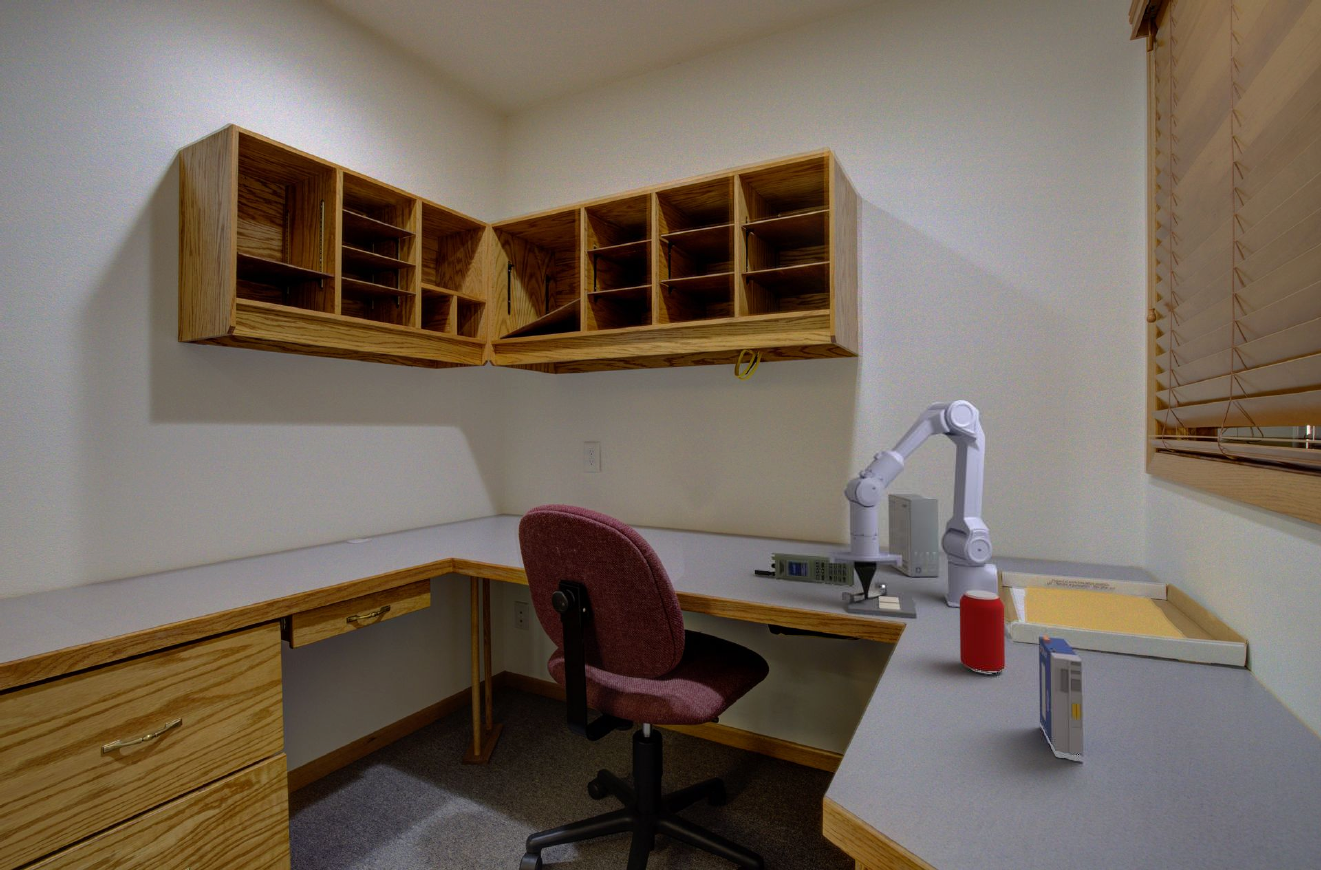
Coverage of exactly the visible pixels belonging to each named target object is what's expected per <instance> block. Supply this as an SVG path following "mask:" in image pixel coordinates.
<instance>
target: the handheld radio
mask: <svg viewBox="0 0 1321 870" xmlns="http://www.w3.org/2000/svg"><path fill="white" fill-rule="evenodd" d="M771 555H774V556H771V560H772V561H774V563H773V562H772V563H771V565H770V567H771V568H772V569H774V571H773V570H772V571H770V570H763V569H762V570H760V569H754V575H756V576H763V577H764V576H765V577H770V576H771V577H774V579H775V578H776V579H775V580H780V579H783V581H793V582H801V581H802V582H803V583H811V584H812V583H813V584H822V583H825V584H824V585H832V584H834V585H835V586H843V585H849V586H848V587H854V586H855V569H854V563H837V562H835V563H830V559H829V556H819V555H818V556H817V555H806V554H793V553H792V554H791V553H779V552H772V553H771ZM834 585H833V586H834ZM853 585H854V586H853Z"/></svg>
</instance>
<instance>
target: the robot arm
mask: <svg viewBox="0 0 1321 870" xmlns="http://www.w3.org/2000/svg"><path fill="white" fill-rule="evenodd" d="M979 417H980V410H978V409H977V408H976V407H975V406H974V405H972V404H971V403H970V402H969V401H966V400H963V399H961V400H955V401H944V402H942V401H937V402H932V403H931V404H930V405H929V406H927V408H926V409H925V410H923V411H922V412H921V413H920V414H919V415H918V417H917V420H916V421H915V422H914V423H913V424H912V426H911V427H909V429H908V430H907V431H906V432H905V434H904V435H902V436H901V438H900V440H898V442H897V443H896V444H895V445H894V446H893V448H892V449H891V450H883V451H881V452H880V453H878V452H877V453H875V454H874V456H873V457H872V458H874V459H873V460H872V462H871V463H870V464H868V466H867V467H866V468H865V469H864V470H860V471H859V473H858V474H859V475H858V476H859V477H854V478H851V479H849V481H848V483H847V484H846V487H845V489H844V490H843V492H844V493H843V494H844V496H845V498H846V500H847V501H849V534H850V535H849V537H850V551H843V552H841V551H839V552H836V551H835V552H829V555H828V557H829V559H830V563H835V562H837V563H854V572H855V573H856V575H857V578H858V579H859V582H860V584H861V587H862V588H861V589H863V591H864V599H868V591H869V587H871V584H872V580H873V578H874V575H876V572H877V570H878V566H877V565H888V566H889V565H890V566H892V565H896V566H902V557H901V555H893V554H889V553H882V552H880V542H879V541H880V539H879V509H878V508H879V507H878V505H879V504H878V503H879V502H881V501H882V499H883V497H884V490H885V489H886V488H888V486H890V484H891V483H892V482H893V481H894V480H895V479H897V477H898V476H899V475H900V474H901V473H902V471H904V469H905V461H906V459H907V458H908V457H910V456H911V455H912V453H914V452H915V451H916V450H918V448H919V447H920V446H921V445H922V444H924V442H927V441H926V440H928V439H929V438H930V437H931V436H935V435H940V434H943V435H945V436H946V437H947V438H948V439H950V440H951V442H953V443H954V444H955V446H956V448H955V449H956V450H955V451H956V452H955V466H954V468H955V469H954V486H953V488H954V489H953V504H952V505H953V507H952V508H953V509H952V511H953V512H952V517H951V518H950V519H948V521H947V522H946V523H945V529H944V530H945V531H944V533H943V535H942V536H941V540H940V545H941V548H942V551H943V552H944V553H945V554H946V560H947V586H948V587H947V590H948V591H947V592H948V593H947V594H944V598H945V600H946V601H945V602H946V604H947V605H948V606H949V607H953V608H960V599H961V598H962V596H963V595H964V593H965V592H967V591H970V590H981V591H988V592H992V593H995V594H996V595H998V596H999V590H998V589H999V585H998V584H999V582H998V569H997V566H996V565H995V564H993V563H987V562H988V561H989V560H990V559H991V557H992V554H993V544H992V542H991V539H990V530H989V528H988V527H987V525H986V524H985V523H984V522H983V519H982V508H983V506H982V505H983V488H984V470H985V469H984V468H985V449H986V436H985V433H984V431H983V428H982V426H981V423H980V421H979Z"/></svg>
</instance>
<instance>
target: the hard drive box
mask: <svg viewBox="0 0 1321 870" xmlns="http://www.w3.org/2000/svg"><path fill="white" fill-rule="evenodd" d="M887 497H888V554H893V555H901V557H902V566H896V565H891V566H892V567H893V568H895V569H896V570H899V571H900V572H901V573H903V574H905V575H906V576H908V577H914V578H916V577H930V578H932V577H934V578H935V577H939V576H940V570H939V569H940V568H939V567H940V565H939V564H940V563H939V562H940V560H939V559H940V557H939V550H940V548H939V499H938V498H933V497H930V496H924V495H919V494H915V493H899V494H898V493H893V494H891V493H889V494H888V496H887Z"/></svg>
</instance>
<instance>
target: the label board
mask: <svg viewBox="0 0 1321 870" xmlns="http://www.w3.org/2000/svg"><path fill="white" fill-rule="evenodd" d="M913 598H914V597H913V596H912V595H897V594H887V595H885V596H880V595H879V596H875V597H871V598H868V599H862V600H858V601H854V602H852V603H850V602H848V603H849V604H848V614H857V615H866V614H867V615H868V616H869V615H870V616H881V617H892V618H902V619H903V618H904V619H915V618H917V609H916V607H915V602H914V599H913ZM917 619H918V618H917Z"/></svg>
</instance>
